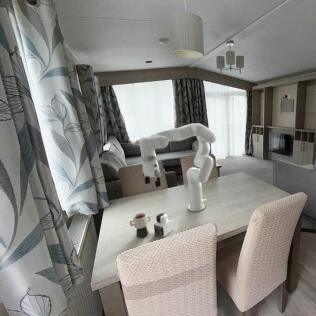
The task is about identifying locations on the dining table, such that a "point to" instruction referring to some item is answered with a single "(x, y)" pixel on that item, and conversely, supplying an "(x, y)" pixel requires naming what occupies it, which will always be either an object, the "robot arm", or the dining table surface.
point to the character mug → (140, 224)
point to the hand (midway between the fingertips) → (153, 184)
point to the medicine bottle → (162, 225)
